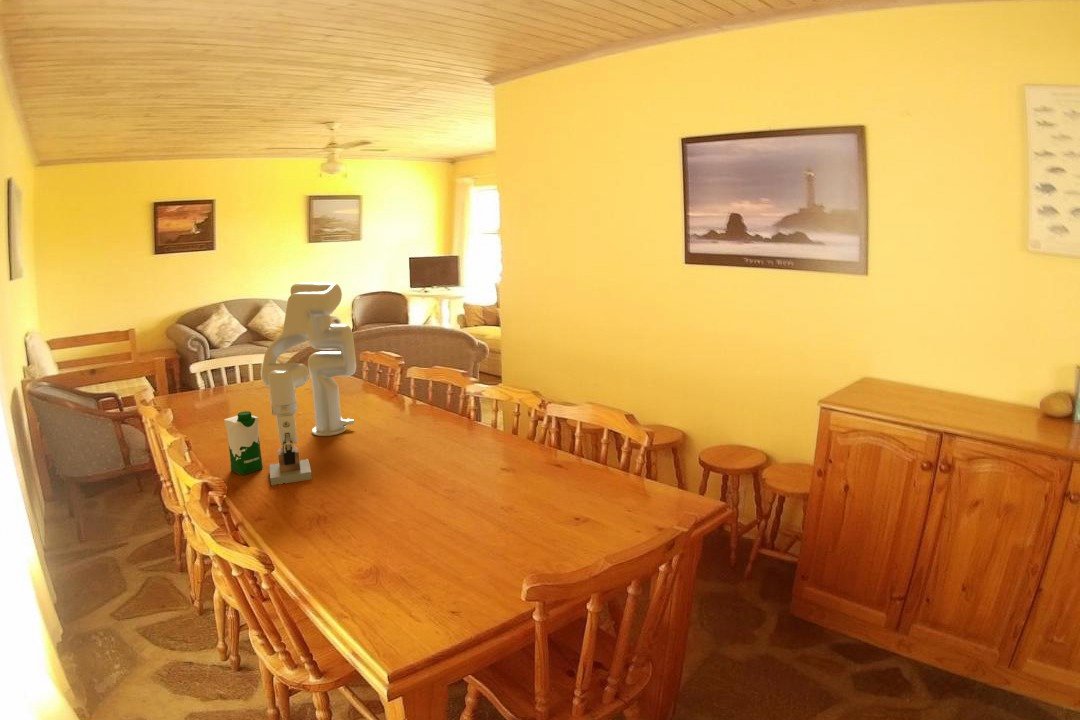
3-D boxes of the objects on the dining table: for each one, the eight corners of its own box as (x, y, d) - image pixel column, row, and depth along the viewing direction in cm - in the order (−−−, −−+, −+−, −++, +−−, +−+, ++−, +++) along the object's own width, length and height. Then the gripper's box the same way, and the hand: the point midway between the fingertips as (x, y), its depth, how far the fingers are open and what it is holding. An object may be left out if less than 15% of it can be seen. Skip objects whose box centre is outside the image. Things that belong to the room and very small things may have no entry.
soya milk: (242, 477, 204) (235, 418, 199) (226, 471, 209) (219, 413, 204) (267, 468, 211) (261, 411, 206) (251, 462, 216) (245, 406, 211)
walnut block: (299, 463, 208) (297, 446, 207) (300, 470, 203) (298, 452, 202) (279, 466, 206) (277, 448, 205) (280, 473, 201) (278, 455, 199)
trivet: (308, 466, 213) (308, 459, 212) (311, 479, 202) (311, 472, 202) (270, 471, 208) (269, 464, 208) (271, 485, 197) (270, 478, 197)
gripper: (298, 414, 194) (303, 466, 198) (295, 399, 209) (299, 447, 213) (272, 417, 191) (277, 470, 195) (270, 402, 206) (275, 451, 210)
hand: (289, 458), depth 204 cm, fingers open, 9 cm apart
